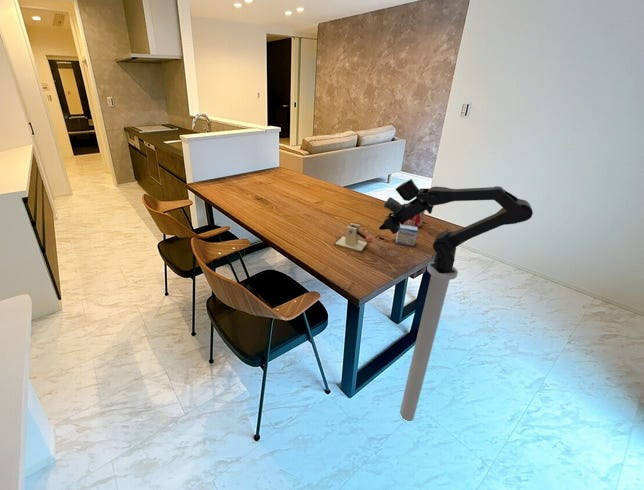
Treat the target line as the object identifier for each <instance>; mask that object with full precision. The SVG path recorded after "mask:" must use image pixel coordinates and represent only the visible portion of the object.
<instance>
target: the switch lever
mask: <svg viewBox="0 0 644 490" xmlns="http://www.w3.org/2000/svg"><path fill="white" fill-rule="evenodd" d="M351 227H354V228H356V227H355V226H353V225H352V226H351ZM357 229H358V228H357ZM356 234H358V235H359V237H361V238H362V239H363V240H364V242H366V243H367V244H371V243H372V242H373V237H372V236H370V235H367V236H366V235H365V234H363V233H362V232H360V230H359V231H357V233H356Z"/></svg>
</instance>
